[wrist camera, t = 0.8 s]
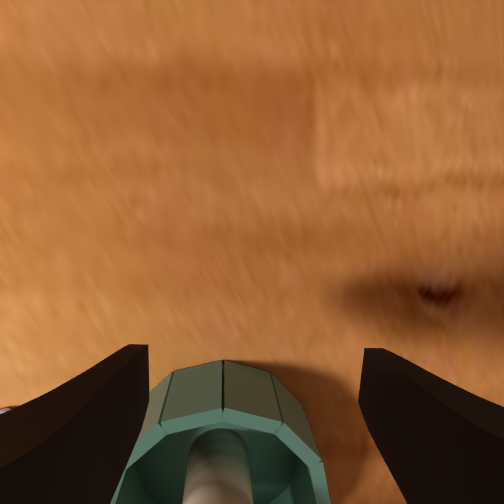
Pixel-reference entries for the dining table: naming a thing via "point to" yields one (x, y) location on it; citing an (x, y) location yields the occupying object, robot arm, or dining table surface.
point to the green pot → (228, 417)
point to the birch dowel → (218, 469)
